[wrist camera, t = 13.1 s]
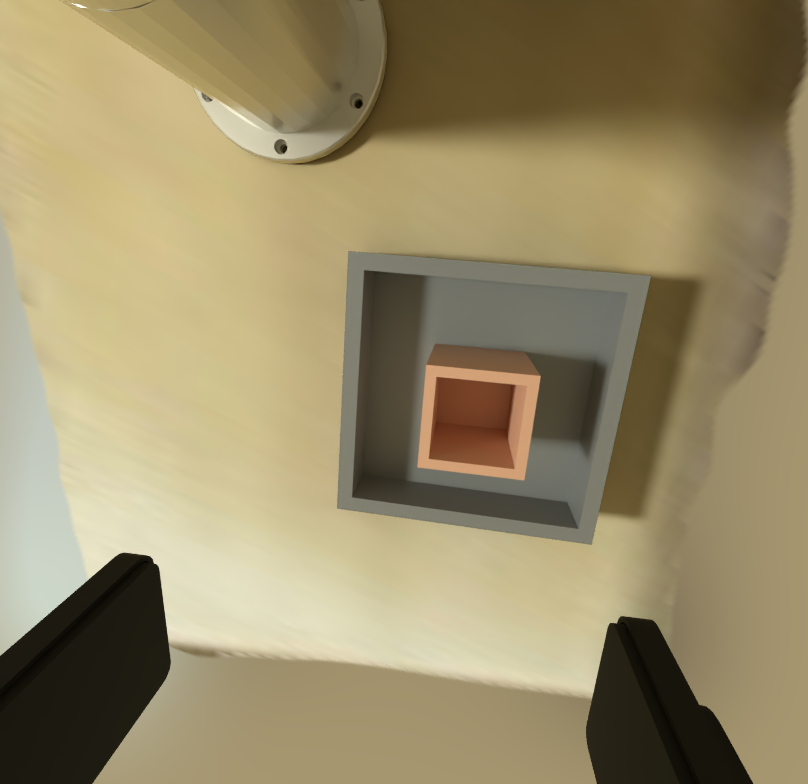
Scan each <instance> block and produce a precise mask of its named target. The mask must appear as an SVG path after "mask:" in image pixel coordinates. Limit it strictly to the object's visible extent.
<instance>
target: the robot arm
mask: <svg viewBox="0 0 808 784" xmlns="http://www.w3.org/2000/svg"><path fill="white" fill-rule="evenodd" d="M60 1H62V2H63V3H65V4H66V5H68V6H69V7H71V8H72V9H74V10H76V11H77V12H79V13H80V14H82V15H83V16H85V17H86V18H88V19H89V20H91V21H92V22H94V23H96V24H97V25H99V26H100V27H102V28H103V29H105V30H106V31H108V32H109V33H111V34H112V35H114V36H116V37H117V38H119V39H120V40H122V41H123V42H125V43H126V44H128V45H129V46H131V47H132V48H134V49H136V50H137V51H139V52H140V53H142V54H143V55H145V56H146V57H148V58H149V59H151V60H152V61H154V62H156V63H157V64H159V65H160V66H162V67H163V68H165V69H166V70H168V71H169V72H171V73H172V74H174V75H175V76H177V77H179V78H180V79H182V80H183V81H185V82H186V83H188V84H189V85H191V86H192V87H193V89H194V91H195V93H196V96H197V98H198V100H199V102H200V104H201V106H202V108H203V109H204V111H205V112H206V114H207V115H208V117H209V118H210V120H211V121H212V123H213V124H214V125H215V126H216V127H217V128H218V129H219V130H220V131H221V132H222V133H223V134H224V135H225V136H226V138H228V139H229V140H231V141H232V142H233V143H235V144H236V145H237V146H239V147H240V148H242V149H243V150H245V151H247V152H249V153H251V154H253V155H255V156H257V157H260V158H263V159H266V160H269V161H272V162H279V163H287V164H294V163H304V162H310V161H313V160H316V159H319V158H322V157H325V156H327V155H328V154H330V153H332V152H334V151H335V150H337V149H339V148H340V147H342V146H343V145H344V144H345V143H346V142H347V141H348V140H350V139H351V138H352V137H353V136H354V135H355V134H356V133H357V132H358V130H359V129H360V128H361V126H362V125H363V124H364V122H365V121H366V120H367V118H368V117H369V115H370V113H371V111H372V109H373V107H374V105H375V103H376V101H377V99H378V96H379V93H380V89H381V86H382V83H383V80H384V75H385V68H386V61H387V31H386V26H385V20H384V15H383V10H382V7H381V4H380V1H379V0H364V1H361V0H60ZM360 101H361V102H363V106H362V107H361V108H359V109H357V108H356V104H357V103H358V102H360ZM285 146H287V147H288V148H287V151H286V152H285V153H283V148H284V147H285ZM170 664H171V660H170V652H169V643H168V635H167V627H166V619H165V612H164V604H163V596H162V588H161V580H160V572H159V567H158V566H157V564H154V562H153V559H152V558H151V557H150V556H146V555H139V554H131V553H121V554H119V555H117V556H116V557H114V558H113V559H112V560H111V561H110V562H109V563H107V564H106V565H105V566H104V567H103V568H102V569H101V570H99V571H98V572H97V573H96V574H95V575H94V576H92V577H91V578H90V579H89V580H88V581H87V582H85V583H84V584H83V585H82V586H81V587H80V588H78V589H77V591H75V592H74V593H73V594H72V595H70V597H68V598H67V599H66V600H65V601H63V602H62V603H61V604H60V605H59V606H58V607H57V608H55V609H54V610H53V611H52V612H51V613H50V614H48V615H47V616H46V617H45V618H44V619H43V620H41V621H40V622H39V623H38V624H37V625H36V626H35V627H33V628H32V629H31V630H30V631H29V632H28V633H26V634H25V635H24V636H23V637H22V638H21V639H19V640H18V641H17V642H16V643H15V644H14V645H12V646H11V647H10V648H9V649H8V650H7V651H6V652H4V653H3V654H2V655H1V656H0V784H92V783H93V782H94V780H95V779H96V777H97V776H98V775H99V773H100V772H101V771H102V769H103V768H104V766H105V765H106V763H107V762H108V761H109V759H110V758H111V756H112V755H113V753H114V752H115V750H116V749H117V748H118V746H119V745H120V743H121V742H122V741H123V739H124V738H125V736H126V735H127V734H128V732H129V731H130V729H131V728H132V726H133V725H134V724H135V722H136V721H137V719H138V718H139V716H140V715H141V713H142V712H143V711H144V709H145V708H146V706H147V705H148V704H149V702H150V701H151V699H152V698H153V697H154V695H155V694H156V692H157V691H158V690H159V688H160V687H161V685H162V684H163V682H164V681H165V679H166V677H167V675H168V672H169V669H170ZM586 738H587V745H588V750H589V754H590V758H591V762H592V766H593V770H594V774H595V778H596V781H597V784H753V782H752V780H751V779H750V777H749V775H748V773H747V771H746V770H745V768H744V766H743V764H742V762H741V761H740V759H739V757H738V755H737V753H736V751H735V750H734V748H733V746H732V744H731V742H730V740H729V739H728V737H727V735H726V733H725V731H724V730H723V728H722V726H721V724H720V722H719V721H718V719H717V718H716V716H715V715H714V713H713V712H712V711H711V710H710V709H708V708H707V707H705V706H702V705H699V704H698V702H697V700H696V698H695V696H694V694H693V692H692V690H691V689H690V687H689V685H688V683H687V681H686V679H685V677H684V675H683V673H682V671H681V669H680V668H679V666H678V664H677V662H676V660H675V658H674V656H673V654H672V652H671V650H670V648H669V647H668V645H667V643H666V641H665V639H664V637H663V635H662V633H661V631H660V629H659V628H658V626H657V624H656V623H655V622H654V621H653V620H648V619H640V618H632V617H625V616H622V617H620V618H619V619H618V622H617V624H616V623H610V624H609V626H608V629H607V634H606V638H605V643H604V648H603V652H602V657H601V661H600V666H599V670H598V675H597V679H596V684H595V689H594V693H593V698H592V702H591V707H590V711H589V716H588V721H587V726H586Z"/></svg>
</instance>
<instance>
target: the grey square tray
mask: <svg viewBox="0 0 808 784" xmlns="http://www.w3.org/2000/svg"><path fill="white" fill-rule="evenodd" d="M650 279H651V276H648V275H636V274H623V273H611V272H599V271H586V270H574V269H562V268H549V267H537V266H525V265H513V264H500V263H488V262H476V261H463V260H451V259H439V258H427V257H414V256H402V255H390V254H377V253H365V252H353V251H348V270H347V293H346V316H345V339H344V362H343V385H342V408H341V431H340V454H339V476H338V499H337V509H344V510H351V511H358V512H365V513H372V514H379V515H387V516H394V517H401V518H408V519H415V520H422V521H429V522H436V523H443V524H450V525H457V526H464V527H471V528H478V529H485V530H492V531H499V532H506V533H513V534H520V535H527V536H534V537H541V538H548V539H555V540H562V541H569V542H576V543H583V544H590V545H592V541H593V536H594V532H595V527H596V523H597V518H598V514H599V509H600V505H601V500H602V496H603V491H604V487H605V482H606V478H607V473H608V469H609V464H610V459H611V455H612V450H613V446H614V441H615V437H616V432H617V428H618V423H619V419H620V414H621V410H622V405H623V401H624V396H625V392H626V387H627V383H628V378H629V374H630V369H631V364H632V360H633V355H634V351H635V346H636V342H637V337H638V333H639V328H640V324H641V319H642V315H643V310H644V306H645V301H646V297H647V292H648V288H649V283H650ZM435 344H446V345H457V346H468V347H478V348H489V349H500V350H511V351H522V352H525V353H526V354H527V356H528V357H529V359H530V360H531V362H532V364H533V365H534V367H535V368H536V370H537V371H538V373H539V374H540V376H541V378H540V384H539V391H538V397H537V403H536V410H535V416H534V422H533V429H532V435H531V441H530V448H529V454H528V460H527V467H526V473H525V479H524V480H516V479H508V478H500V477H492V476H484V475H476V474H467V473H459V472H451V471H443V470H435V469H427V468H418V467H417V465H418V454H419V442H420V431H421V419H422V407H423V396H424V384H425V373H426V364H427V362H428V359H429V357H430V354H431V352H432V350H433V347H434V345H435Z"/></svg>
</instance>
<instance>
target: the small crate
mask: <svg viewBox="0 0 808 784" xmlns="http://www.w3.org/2000/svg"><path fill="white" fill-rule="evenodd" d="M540 378H541V376H540V374H539V373H538V371H537V370H536V368H535V367H534V365H533V364H532V362H531V360H530V359H529V357H528V356H527V354H526V353H525V352H522V351H511V350H500V349H489V348H478V347H468V346H457V345H446V344H435V345H434V347H433V350H432V352H431V354H430V357H429V359H428V362H427V364H426V373H425V384H424V396H423V407H422V419H421V431H420V442H419V454H418V465H417V467H418V468H427V469H435V470H443V471H451V472H459V473H467V474H476V475H484V476H492V477H500V478H508V479H516V480H524V479H525V473H526V467H527V460H528V454H529V448H530V441H531V435H532V429H533V422H534V416H535V410H536V403H537V397H538V391H539V384H540Z"/></svg>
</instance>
